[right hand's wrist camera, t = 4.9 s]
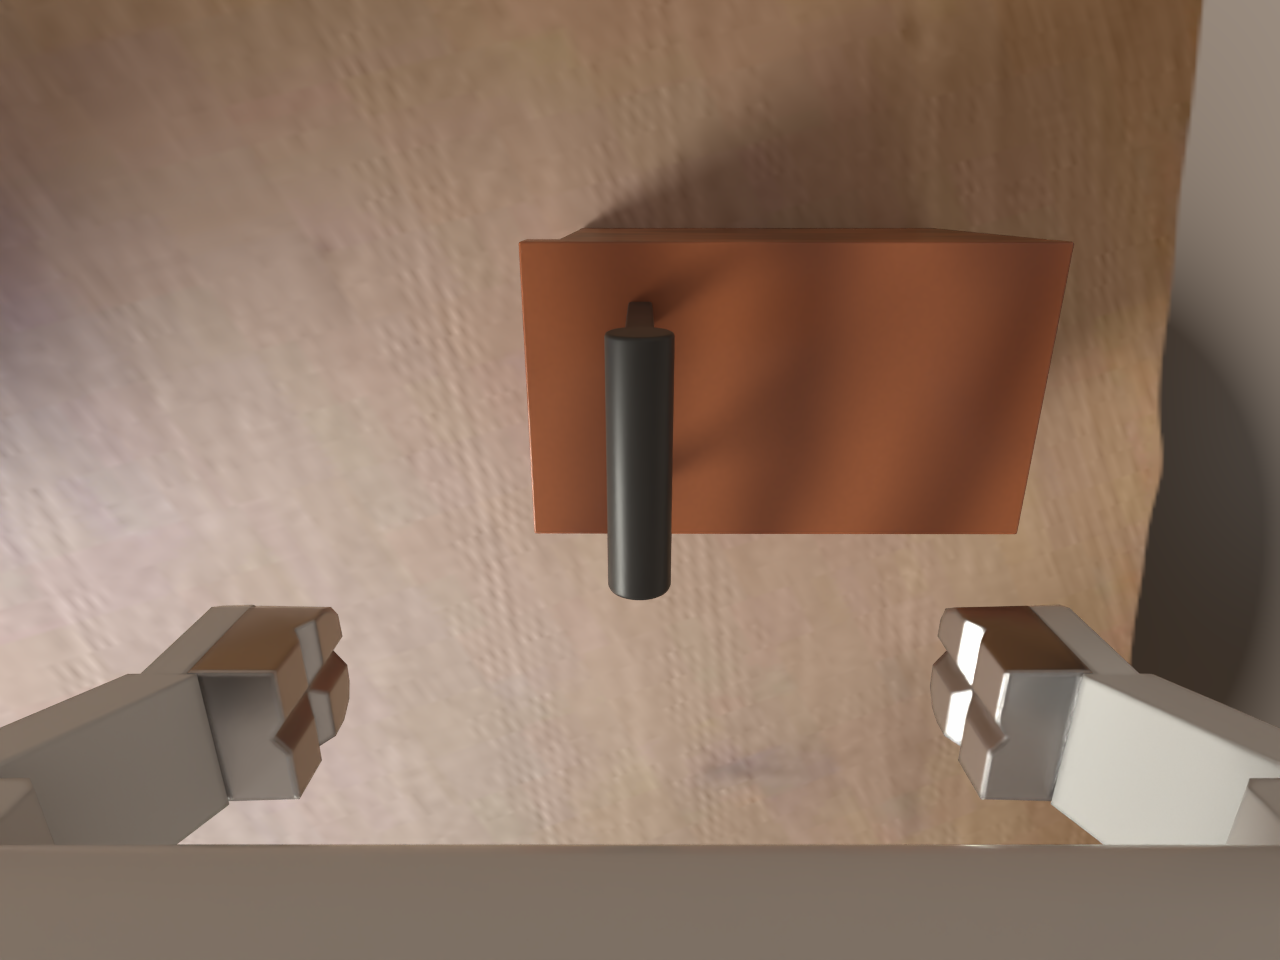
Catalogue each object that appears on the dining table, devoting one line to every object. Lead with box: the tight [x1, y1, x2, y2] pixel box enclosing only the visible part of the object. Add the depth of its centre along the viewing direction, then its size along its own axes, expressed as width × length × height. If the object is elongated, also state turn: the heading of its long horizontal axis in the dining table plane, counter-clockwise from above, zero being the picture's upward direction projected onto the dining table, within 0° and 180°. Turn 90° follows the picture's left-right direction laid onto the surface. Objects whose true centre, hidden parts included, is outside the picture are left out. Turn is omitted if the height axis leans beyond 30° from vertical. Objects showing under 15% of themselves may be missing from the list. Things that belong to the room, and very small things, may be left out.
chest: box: [562, 228, 1046, 240], centre depth 28 cm, size 15×9×9 cm, turn 90°
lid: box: [519, 239, 1074, 600], centre depth 20 cm, size 16×9×8 cm, turn 90°
